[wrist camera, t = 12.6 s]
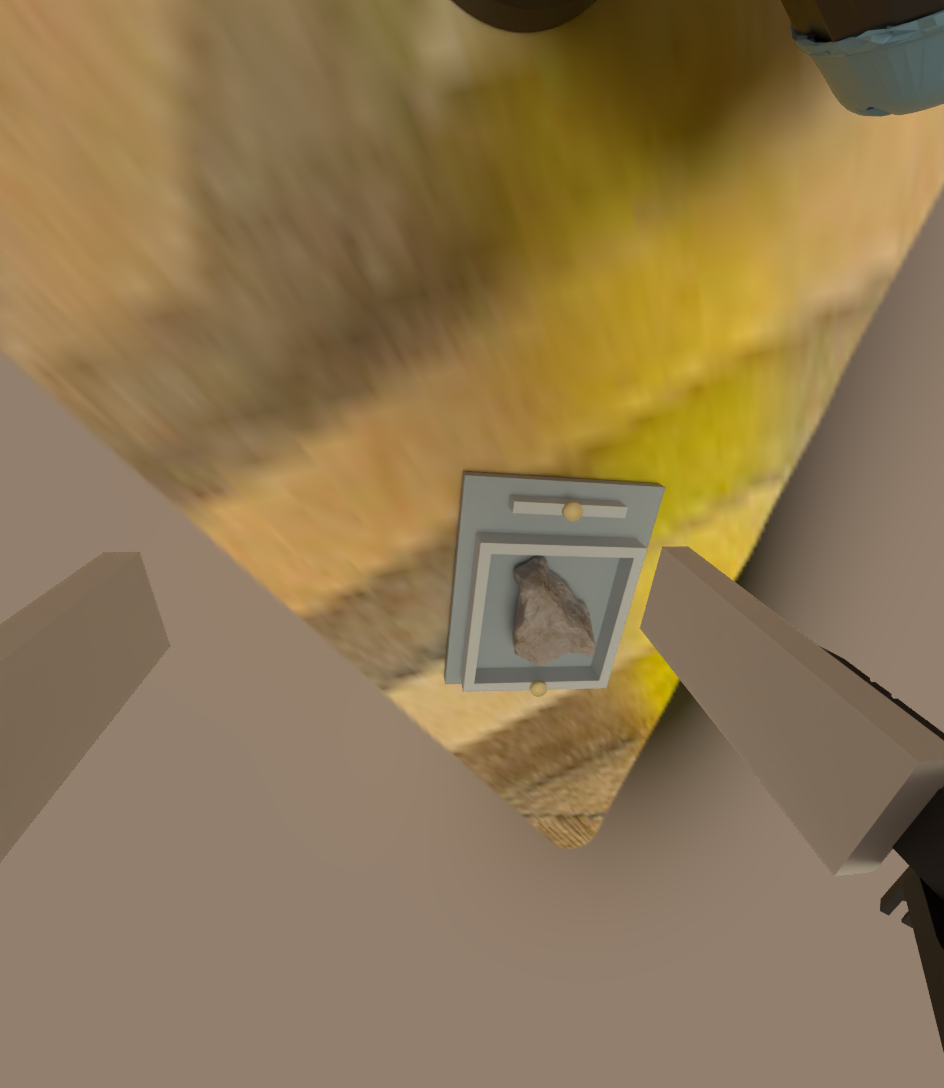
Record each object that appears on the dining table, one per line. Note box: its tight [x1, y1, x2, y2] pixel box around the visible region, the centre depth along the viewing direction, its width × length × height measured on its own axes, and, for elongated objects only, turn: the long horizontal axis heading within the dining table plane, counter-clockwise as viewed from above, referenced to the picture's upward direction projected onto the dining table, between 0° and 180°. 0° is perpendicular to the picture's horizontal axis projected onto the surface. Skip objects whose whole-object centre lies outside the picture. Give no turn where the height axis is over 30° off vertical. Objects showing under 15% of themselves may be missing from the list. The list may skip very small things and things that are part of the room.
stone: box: [512, 556, 595, 666], centre depth 38 cm, size 8×10×6 cm
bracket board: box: [444, 471, 665, 697], centre depth 40 cm, size 22×18×4 cm
